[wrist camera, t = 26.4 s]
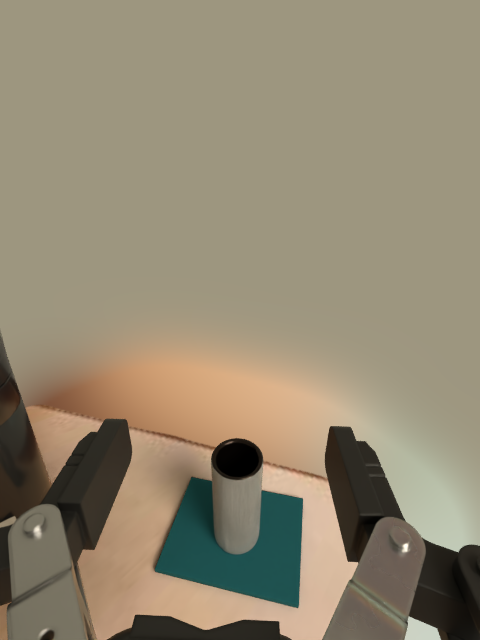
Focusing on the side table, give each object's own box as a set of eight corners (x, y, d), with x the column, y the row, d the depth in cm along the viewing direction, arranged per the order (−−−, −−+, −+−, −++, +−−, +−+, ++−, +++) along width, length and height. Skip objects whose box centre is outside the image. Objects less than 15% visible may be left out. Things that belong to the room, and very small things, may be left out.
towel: (155, 572, 30) (154, 568, 30) (191, 479, 39) (191, 476, 39) (298, 608, 28) (298, 605, 27) (302, 501, 36) (303, 498, 36)
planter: (218, 560, 30) (215, 484, 26) (211, 514, 34) (207, 441, 30) (264, 549, 31) (270, 473, 27) (252, 505, 35) (255, 434, 31)
